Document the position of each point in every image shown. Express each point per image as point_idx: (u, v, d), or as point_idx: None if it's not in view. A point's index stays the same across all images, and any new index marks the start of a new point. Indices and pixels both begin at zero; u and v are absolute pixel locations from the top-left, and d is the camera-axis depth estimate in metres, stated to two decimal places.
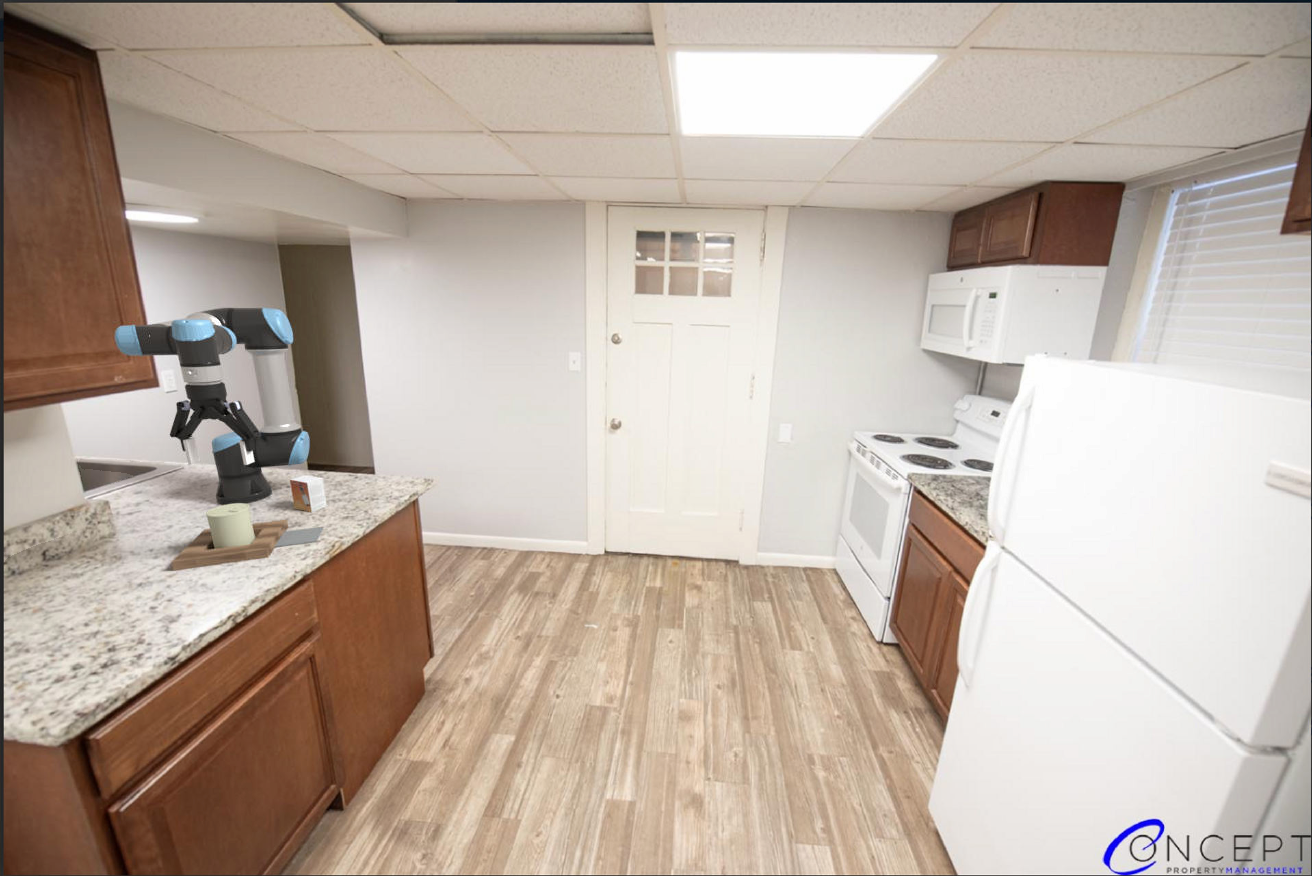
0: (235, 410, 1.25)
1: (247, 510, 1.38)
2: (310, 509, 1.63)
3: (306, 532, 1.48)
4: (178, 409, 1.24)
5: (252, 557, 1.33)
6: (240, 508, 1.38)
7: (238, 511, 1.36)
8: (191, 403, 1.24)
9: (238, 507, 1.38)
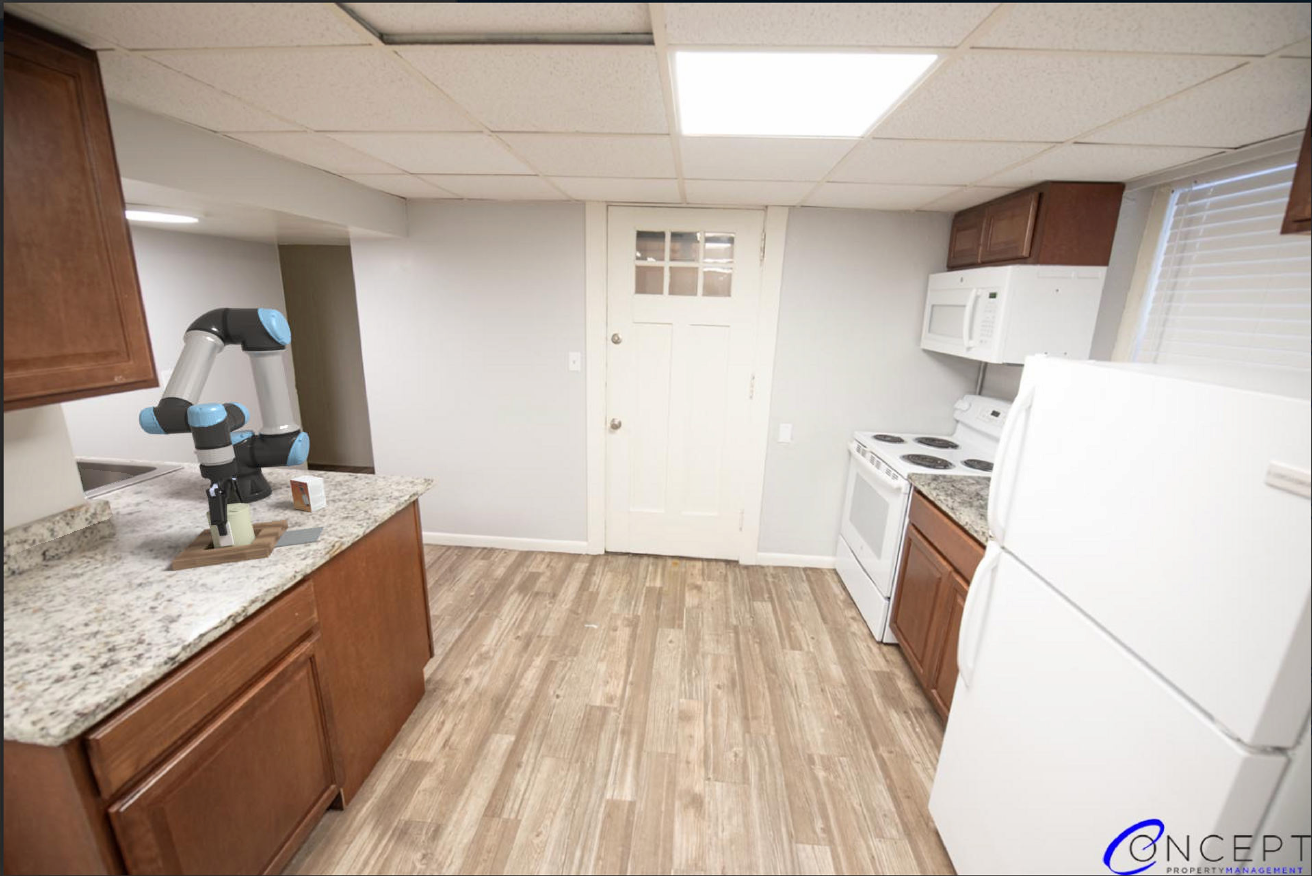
0: (208, 497, 1.29)
1: (247, 510, 1.38)
2: (310, 509, 1.63)
3: (306, 532, 1.48)
4: None
5: (252, 557, 1.33)
6: (240, 508, 1.38)
7: (238, 511, 1.36)
8: None
9: (238, 507, 1.38)
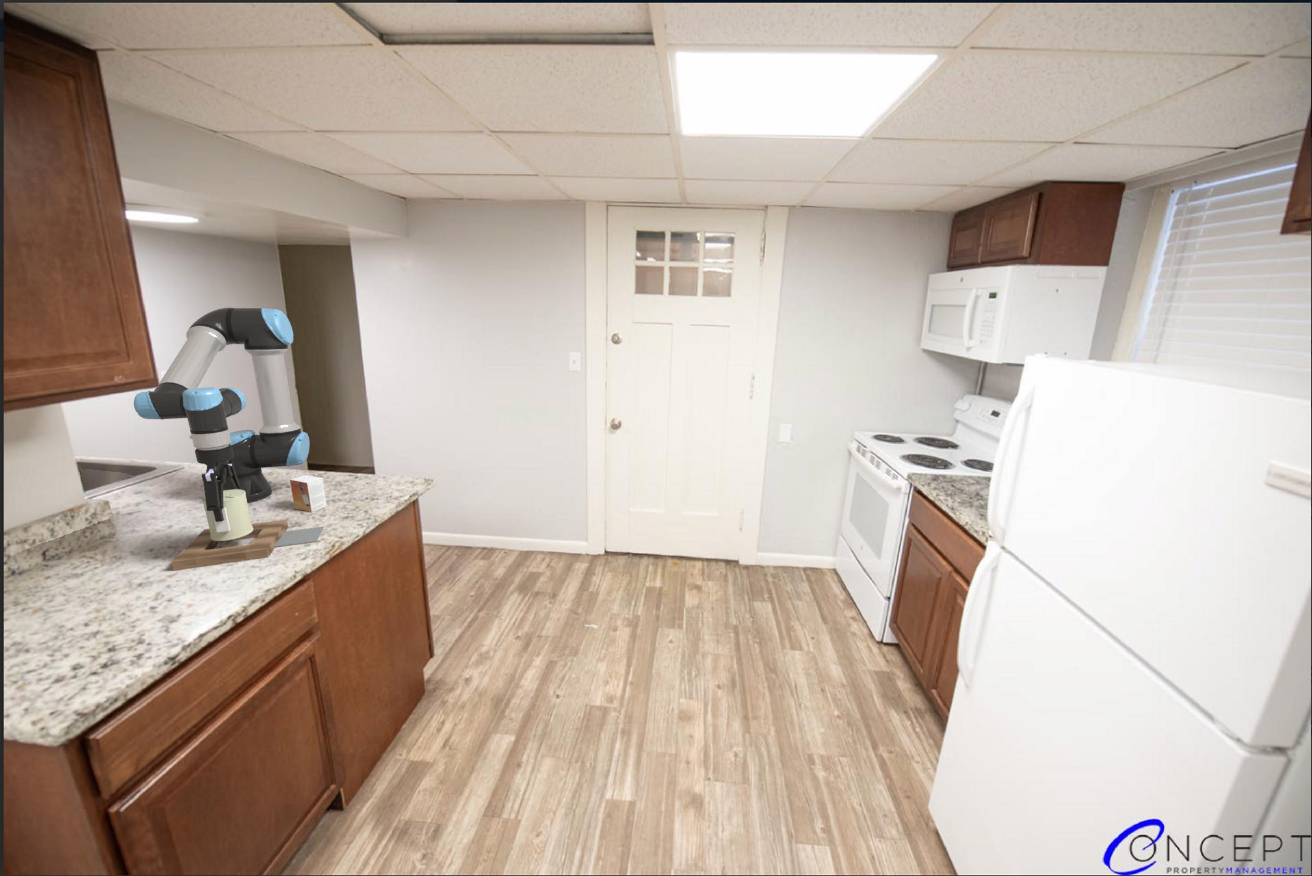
0: (203, 482, 1.27)
1: (244, 496, 1.37)
2: (310, 509, 1.63)
3: (306, 532, 1.48)
4: None
5: (252, 557, 1.33)
6: (236, 494, 1.36)
7: (234, 497, 1.34)
8: None
9: (234, 493, 1.37)
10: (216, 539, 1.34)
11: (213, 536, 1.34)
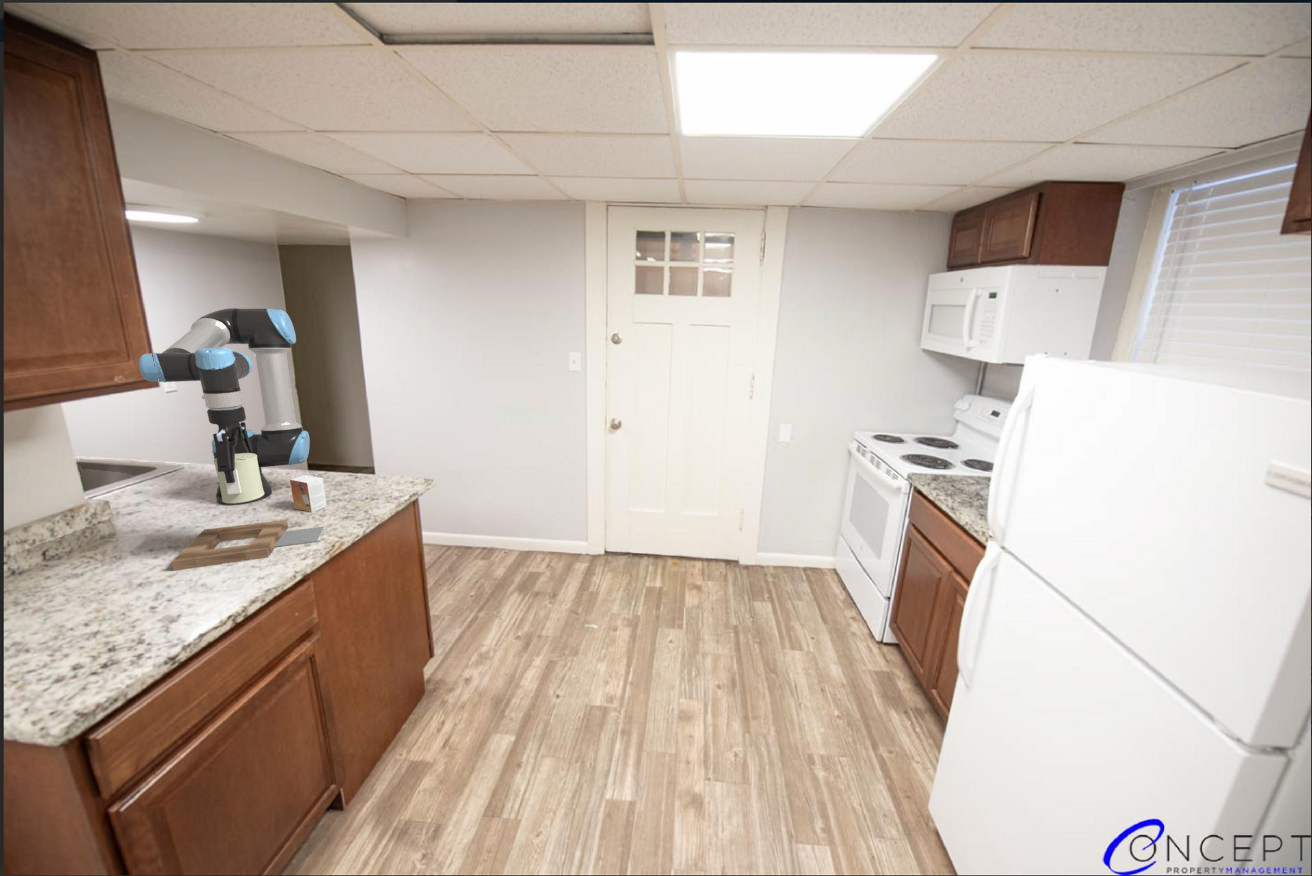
0: (215, 441, 1.27)
1: (255, 459, 1.36)
2: (310, 509, 1.63)
3: (306, 532, 1.48)
4: None
5: (252, 557, 1.33)
6: (248, 457, 1.35)
7: (245, 459, 1.33)
8: None
9: (246, 456, 1.36)
10: (227, 502, 1.33)
11: (224, 499, 1.33)
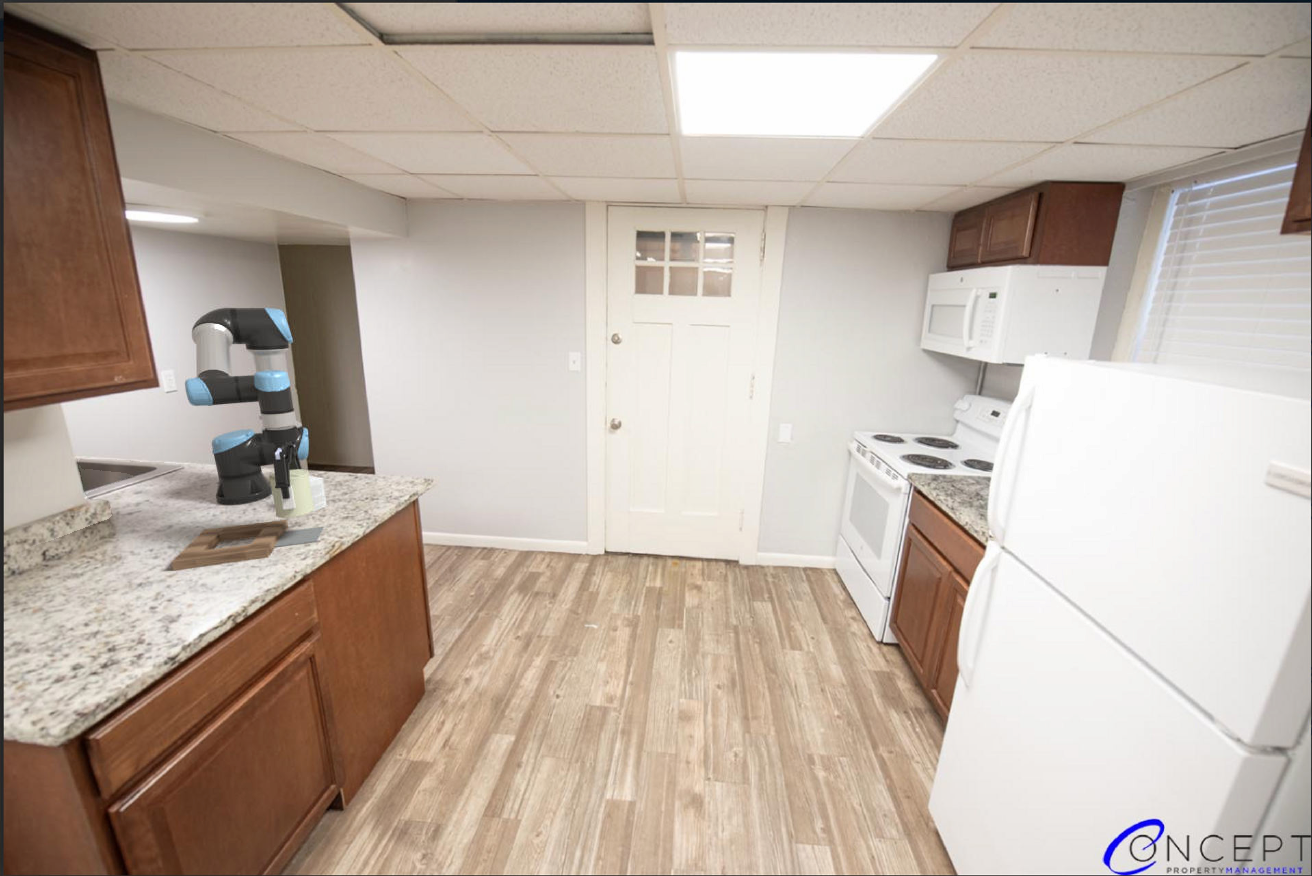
0: (273, 460, 1.33)
1: (307, 475, 1.42)
2: None
3: (306, 532, 1.48)
4: None
5: (252, 557, 1.33)
6: (300, 473, 1.42)
7: (299, 475, 1.40)
8: None
9: (298, 472, 1.43)
10: (282, 516, 1.39)
11: (279, 514, 1.40)
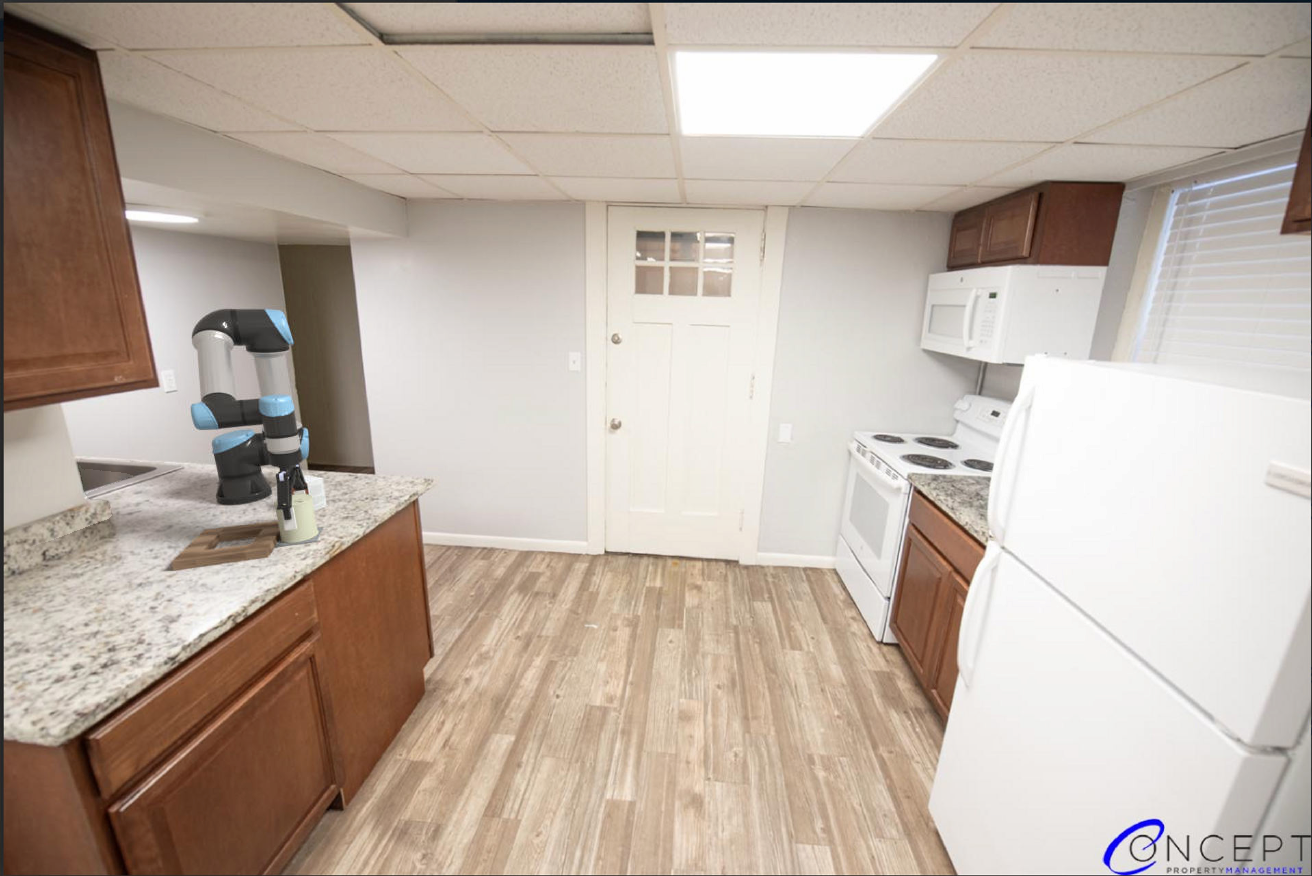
0: (277, 481, 1.34)
1: (311, 500, 1.45)
2: None
3: None
4: None
5: (252, 557, 1.33)
6: (304, 498, 1.44)
7: (304, 501, 1.42)
8: None
9: (302, 498, 1.45)
10: (287, 541, 1.42)
11: (284, 539, 1.42)
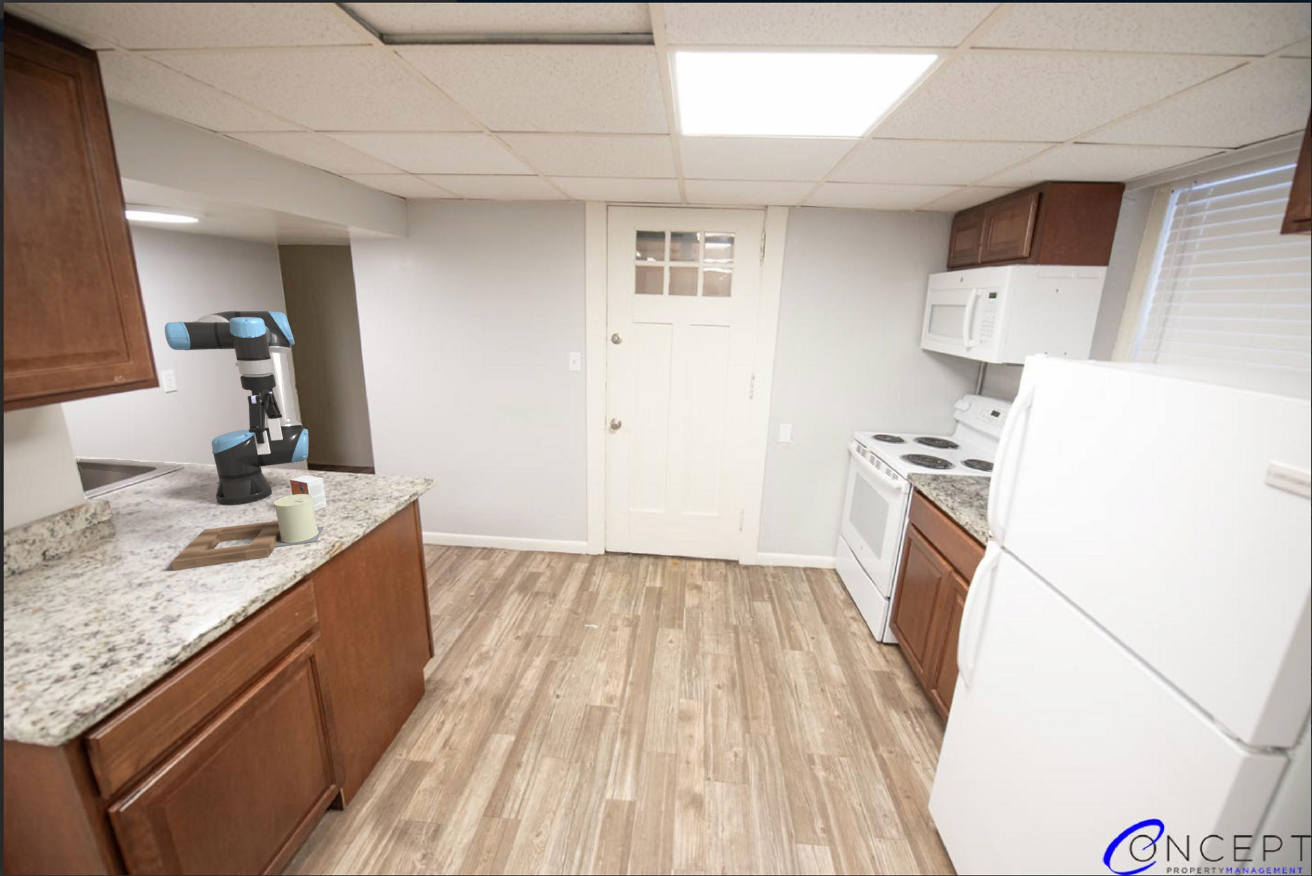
0: (249, 403, 1.33)
1: (311, 500, 1.45)
2: None
3: None
4: None
5: (252, 557, 1.33)
6: (305, 498, 1.44)
7: (304, 501, 1.42)
8: None
9: (302, 498, 1.45)
10: (287, 541, 1.42)
11: (284, 539, 1.42)
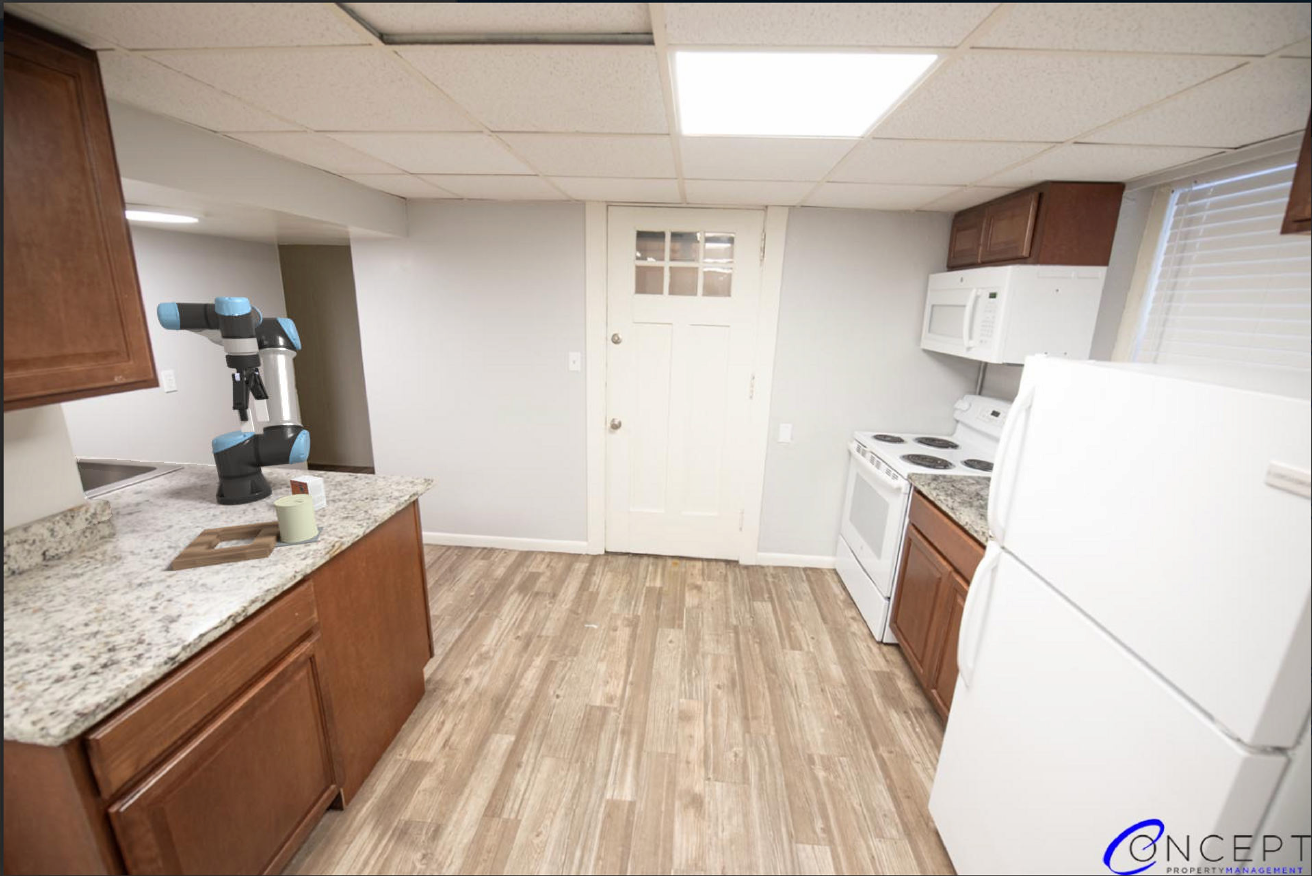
0: (233, 381, 1.35)
1: (311, 500, 1.45)
2: None
3: None
4: None
5: (252, 557, 1.33)
6: (305, 498, 1.44)
7: (304, 501, 1.42)
8: None
9: (302, 498, 1.45)
10: (287, 541, 1.42)
11: (284, 539, 1.42)
